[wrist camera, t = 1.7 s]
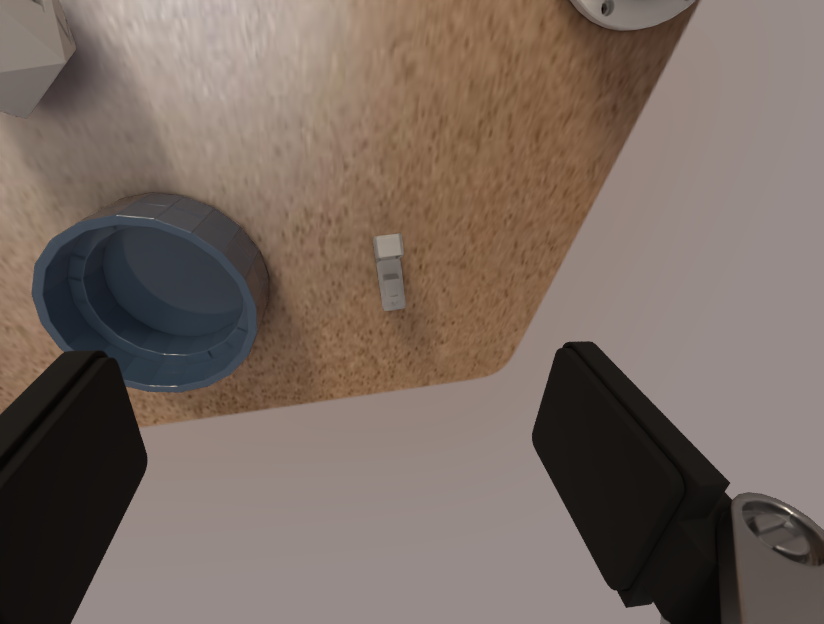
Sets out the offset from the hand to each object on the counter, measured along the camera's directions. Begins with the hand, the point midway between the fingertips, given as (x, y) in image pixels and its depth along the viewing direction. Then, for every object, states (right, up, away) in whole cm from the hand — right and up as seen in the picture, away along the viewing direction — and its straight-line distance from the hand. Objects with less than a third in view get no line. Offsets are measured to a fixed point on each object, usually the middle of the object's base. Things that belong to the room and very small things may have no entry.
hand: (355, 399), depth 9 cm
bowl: (-17, +5, +23) cm, 29 cm away
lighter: (-1, +7, +25) cm, 26 cm away
